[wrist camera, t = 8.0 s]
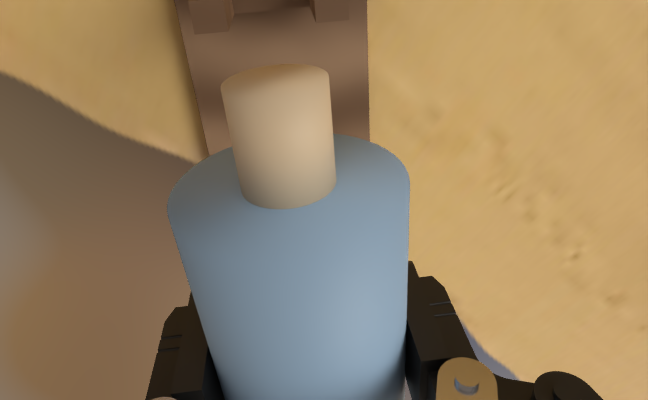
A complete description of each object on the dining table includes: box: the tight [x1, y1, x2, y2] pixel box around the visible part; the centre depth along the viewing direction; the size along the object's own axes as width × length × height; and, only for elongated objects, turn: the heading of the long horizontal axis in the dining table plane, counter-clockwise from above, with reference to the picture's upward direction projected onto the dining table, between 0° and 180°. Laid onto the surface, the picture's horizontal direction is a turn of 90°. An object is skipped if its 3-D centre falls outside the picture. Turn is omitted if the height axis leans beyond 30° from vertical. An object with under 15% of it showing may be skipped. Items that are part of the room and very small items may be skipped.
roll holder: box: [174, 0, 370, 156], centre depth 25 cm, size 16×10×8 cm, turn 4°
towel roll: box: [167, 64, 410, 400], centre depth 13 cm, size 14×5×5 cm, turn 4°
